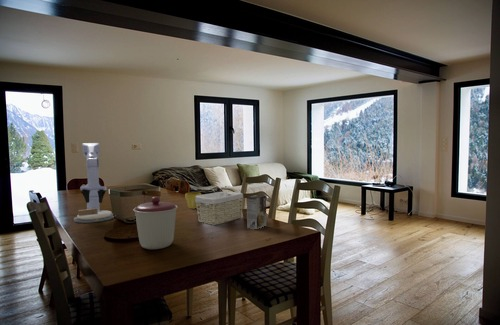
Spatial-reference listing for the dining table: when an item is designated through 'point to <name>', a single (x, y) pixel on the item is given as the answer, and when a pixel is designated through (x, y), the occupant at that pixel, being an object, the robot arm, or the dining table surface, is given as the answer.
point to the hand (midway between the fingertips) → (94, 202)
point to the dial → (93, 214)
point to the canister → (155, 223)
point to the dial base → (93, 220)
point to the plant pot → (191, 200)
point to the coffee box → (256, 211)
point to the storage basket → (219, 207)
